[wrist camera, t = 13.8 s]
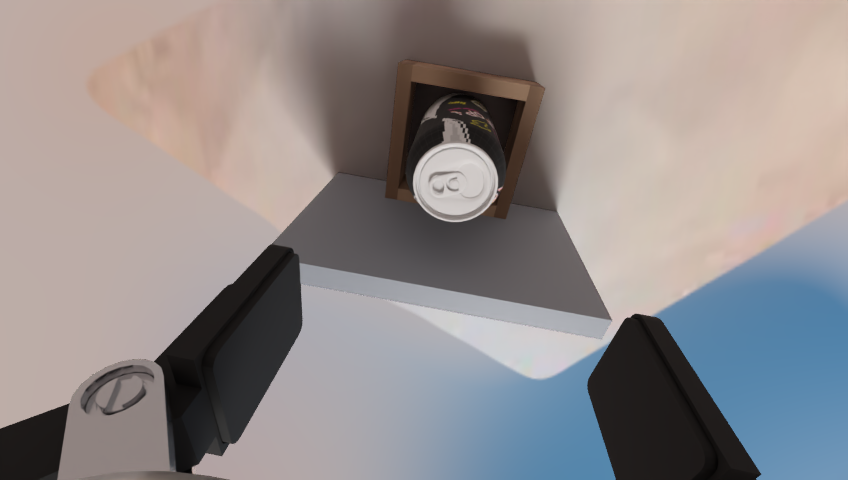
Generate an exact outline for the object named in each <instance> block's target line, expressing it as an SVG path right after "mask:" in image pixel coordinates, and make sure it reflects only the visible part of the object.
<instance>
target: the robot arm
mask: <svg viewBox="0 0 848 480" xmlns="http://www.w3.org/2000/svg"><path fill="white" fill-rule="evenodd" d="M301 327H302V303H301V282H300V261H299V255H298V254H295V253H294V251H293V249H292V248H290V247H285V246H280V245H275V244H271V245H269V246H268V247H267V249H266V250H264V251H263V252H262V254H261V255H260V256H259V257H258V258H257V259H256V260H255V261H254V262H253V263H252V264H251V265H250V266H249V267H248V268H247V270H246V271H245V272H244V273H243V274H242V275H241V276H240V277H239V278H238V279H237V280H236V281H235V282H234V283H233V284H231V285H228V286H227V287H226V288H224V289H223V290H222V291H221V292H220V293H219V295H218V296H217V297H216V298H215V299H214V300H213V301H212V302H211V303H210V304H209V305H208V306H207V307H206V308H205V309H204V310H203V311H202V312H201V313H200V314H199V315H198V316H197V317H196V318H195V320H193V322H192V323H191V324H190V325H189V326H188V327H187V328H186V329H185V330H184V331H183V332H182V333H181V334H180V335H179V336H178V337H177V338H176V339H175V340H174V341H173V342H172V343H171V344H170V346H169V347H168V348H167V349H166V350H165V351H164V352H163V353H162V354H161V355H160V356H159V357H158V358H157V359H156V360H155V361H154V362H153V361H149V360H146V359H132V360H128V361H122V362H118V363H116V364H113V365H110V366H108V367H105V368H104V369H102V370H100V371H98V372H97V373H95V374H93V375H92V376H91V377H89V378H88V379H87V380H86V381H85V382H83V383H82V384H81V385H80V386H79V388H78V389H77V390H76V392H75V393H74V394H73V396H72V399H71V401H70V403H69V404H67V405H64V406H61V407H58V408H56V409H53V410H50V411H47V412H45V413H42V414H39V415H37V416H34V417H31V418H29V419H26V420H23V421H20V422H17V423H15V424H12V425H9V426H6V427H4V428H1V429H0V480H227V479H222V478H217V477H211V476H204V475H196V469H195V465H197V464H199V462H200V461H201V459H202V458H203V456H204V455H205V453H209V454H214V455H219V456H222V455H223V453H224V452H225V450H226V449H227V447H228V445H229V443H232V444H234V443H236V442H237V441H238V440H239V438H240V437H241V435H242V433H243V431H244V430H245V428H246V426H247V424H248V423H249V421H250V419H251V417H252V416H253V414H254V412H255V410H256V409H257V407H258V405H259V403H260V401H261V400H262V398H263V396H264V395H265V393H266V391H267V389H268V388H269V386H270V384H271V382H272V381H273V379H274V377H275V375H276V374H277V372H278V370H279V368H280V367H281V365H282V363H283V361H284V360H285V358H286V356H287V354H288V353H289V351H290V349H291V347H292V346H293V344H294V342H295V340H296V338H297V337H298V335H299V333H300V331H301ZM587 386H588V393H589V395H590V399H591V402H592V405H593V408H594V411H595V414H596V418H597V421H598V424H599V427H600V430H601V433H602V437H603V440H604V443H605V446H606V449H607V452H608V456H609V458H610V462H611V464H612V468H613V471H614V474H615V477H616V480H756V478H757V477H759V476H760V475H761V473H760V472H759V470H758V469H757V467H756V466H755V464H754V462H753V461H752V459H751V458H750V456H749V455H748V453H747V452H746V450H745V448H744V447H743V445H742V444H741V442H740V441H739V439H738V438H737V436H736V435H735V433H734V431H733V430H732V428H731V427H730V425H729V424H728V422H727V421H726V419H725V418H724V416H723V414H722V413H721V411H720V410H719V408H718V407H717V405H716V404H715V402H714V401H713V399H712V397H711V396H710V394H709V393H708V392H707V390H706V388H705V387H704V385H703V384H702V382H701V381H700V379H699V377H698V376H697V374H696V373H695V371H694V370H693V368H692V367H691V365H690V364H689V362H688V361H687V359H686V357H685V356H684V354H683V353H682V351H681V350H680V348H679V347H678V345H677V343H676V342H675V340H674V339H673V337H672V336H671V334H670V333H669V331H668V330H667V328H666V327H665V325H664V323H663V322H662V321H661V320H660V319H659V318H657V317H651V316H646V315H641V314H634V315H632V316H631V318H626V319H625V320H624V321H623V323H622V325H621V326H620V328H619V329H618V331H617V333H616V334H615V336H614V338H613V339H612V341H611V343H610V344H609V346H608V348H607V349H606V351H605V353H604V354H603V356H602V358H601V359H600V361H599V362H598V364H597V366H596V367H595V369H594V371H593V372H592V374H591V376H590V377H589V379H588V385H587Z"/></svg>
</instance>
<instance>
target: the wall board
mask: <svg viewBox="0 0 848 480" xmlns="http://www.w3.org/2000/svg"><path fill="white" fill-rule="evenodd" d="M386 182H387V181H383V180H378V179H372V178H366V177H361V176H355V175H350V174H344V173H339V172H338V173H337V175H336V176H335V177H334V178H333V179H332V180H331V181H330V182H329V183H328V184H327V185H326V186H325V187H324V188H323V190H322V191H321V192H320V193H319V194H318V195H317V196H316V197H315V198H314V199H313V200H312V201H311V202H310V204H309V205H308V206H307V207H306V208H305V209H304V210H303V211H302V212H301V213H300V214H299V215H298V216H297V217H296V219H295V220H294V221H293V222H292V223H291V224H290V225H289V226H288V227H287V228H286V229H285V230H284V231H283V233H282V234H281V235H280V236H279V237H278V238H277V239H276V240H275V241H274V242H273V243H272V244H275V245H280V246H285V247H290V248H292V249H293V251H294V253H295V254H298V255H299V261H300V282H301V284H304V285H309V286H315V287H320V288H326V289H331V290H336V291H342V292H347V293H353V294H359V295H363V296H369V297H374V298H380V299H385V300H390V301H396V302H401V303H407V304H412V305H417V306H423V307H428V308H434V309H439V310H444V311H450V312H455V313H461V314H466V315H471V316H477V317H482V318H488V319H493V320H498V321H504V322H509V323H515V324H520V325H525V326H531V327H536V328H542V329H547V330H552V331H558V332H563V333H569V334H574V335H579V336H585V337H590V338H596V339H602V338H603V336H604V334H605V332H606V331H607V329H608V327H609V326H610V324H611V322H612V319H611V317H610V315H609V313H608V311H607V309H606V307H605V305H604V303H603V301H602V299H601V297H600V295H599V293H598V291H597V289H596V287H595V285H594V283H593V281H592V280H591V278H590V276H589V274H588V272H587V270H586V268H585V266H584V264H583V262H582V260H581V258H580V256H579V254H578V252H577V250H576V248H575V246H574V244H573V242H572V240H571V238H570V236H569V234H568V232H567V230H566V228H565V226H564V224H563V222H562V220H561V218H560V216H559V214H558V212H556V211H550V210H544V209H539V208H533V207H528V206H522V205H517V204H510V207H509V210H508V214H507V217H506V219H501V218H495V217H490V216H484V215H478V216H477V217H475V218H472V219H470V220H466V221H462V222H449V221H444V220H440V219H437V218H436V217H434V216H432V215H430V214H429V213H428V212H426V211H425V210H424V209H423V208H422V206H421V205H420V204H418V203H412V202H406V201H401V200H395V199H390V198H385V192H386Z"/></svg>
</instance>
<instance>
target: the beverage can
mask: <svg viewBox="0 0 848 480" xmlns="http://www.w3.org/2000/svg"><path fill="white" fill-rule="evenodd" d="M505 177H506V162H505V156H504V153H503V150H502V147H501V145H500V142H499V139H498V136H497V133H496V130H495V127H494V124H493V122H492V119H491V116H490V114H489V112H488V110H487V109H486V107H485V106H484V105H483V104H482V103H481V102H480V101H479V100H477V99H476V98H474V97H472V96H469V95H467V94H460V93H456V94H449V95H446V96H443V97H441V98H439V99H437V100H436V101H435V102H434V103H433V104H431V106H430V107H429V108H428V109H427V111H426V113H425V115H424V117H423V119H422V122H421V124H420V127H419V129H418V132H417V134H416V137H415V139H414V142H413V144H412V147H411V149H410V152H409V155H408V158H407V162H406V178H407V183H408V186H409V189H410V191H411V193H412V195H413V197H414V198H415V200H416V201H417V202H418V203H419V204H420V205H421V206H422V208H423V209H424V210H425V211H426V212H428V213H429V214H430V215H432V216H434V217H436V218H437V219H440V220H444V221H449V222H462V221H466V220H470V219H472V218H475V217H477V216H478V215H480V214H481V213H483V212H484V211H485V210H486V209H487V208H488V207H489V206H490V205H491V204H492V203H493V202H494V201H495V200H496V198H497V197H498V195H499V194H500V192H501V190H502V187H503V185H504V182H505Z"/></svg>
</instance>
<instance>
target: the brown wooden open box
mask: <svg viewBox="0 0 848 480" xmlns="http://www.w3.org/2000/svg"><path fill="white" fill-rule="evenodd" d="M416 82H418V83H424V84H430V85H436V86H441V87H447V88H453V89H458V90H464V91H470V92H476V93H481V94H487V95H493V96H498V97H504V98H510V99H516V100H518V102H517V105H516V109H515V113H514V116H513V120H512V124H511V128H510V131H509V135H508V139H507V143H506V146H505V150H504V156H505V162H506V177H505V182H504V185H503V187H502V190H501V192H500V194H499V195H498V197H497V198H496V200H495V201H494V202H493V203H492V204H491V205H490V206H489V207H488V208H487V209H486V210H485V211H484V212H483V213H481V214H480V215H484V216H490V217H495V218H501V219H506V217H507V214H508V210H509V207H510V204H511V200H512V197H513V194H514V190H515V187H516V184H517V180H518V177H519V174H520V170H521V167H522V164H523V160H524V157H525V154H526V150H527V147H528V144H529V141H530V137H531V134H532V131H533V127H534V124H535V121H536V117H537V114H538V111H539V107H540V104H541V101H542V97H543V94H544V91H545V88H544V87H543V86H541V85H540V84H538V83H537V82H533V81H527V80H521V79H515V78H510V77H504V76H498V75H492V74H487V73H481V72H475V71H469V70H464V69H458V68H452V67H446V66H441V65H435V64H429V63H424V62H418V61H412V60H403V61H401V62H399V63H398V70H397V81H396V91H395V101H394V111H393V121H392V131H391V141H390V152H389V162H388V172H387V182H386V192H385V198H390V199H395V200H401V201H406V202H412V203H418V202H417V201H416V200H415V198H414V197H413V195H412V193H411V191H410V189H409V186H408V183H407V178H406V174H405V169H406V161H407V153H408V145H409V137H410V129H411V121H412V113H413V105H414V97H415V89H416ZM418 204H419V203H418Z"/></svg>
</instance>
